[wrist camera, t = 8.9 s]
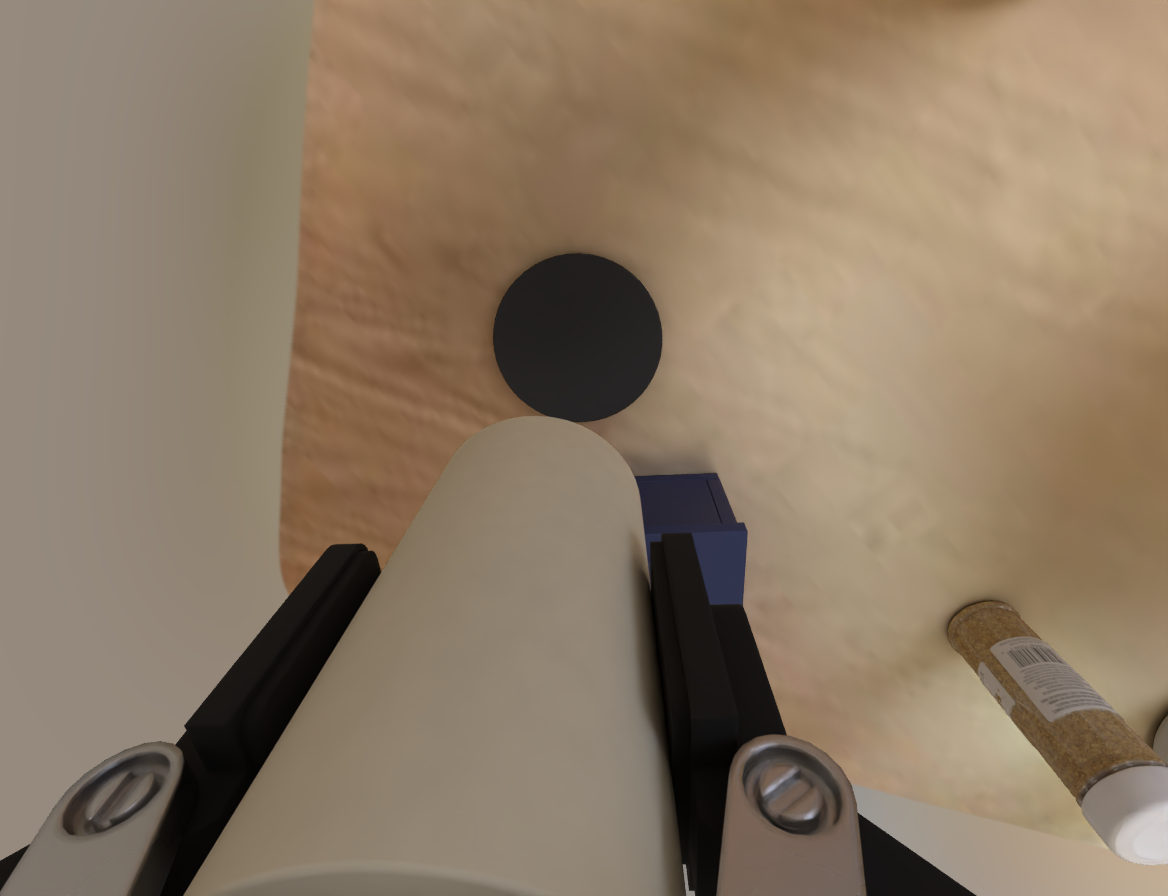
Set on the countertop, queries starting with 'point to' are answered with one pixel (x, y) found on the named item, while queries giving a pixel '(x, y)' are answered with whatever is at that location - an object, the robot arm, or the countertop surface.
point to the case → (683, 500)
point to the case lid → (713, 556)
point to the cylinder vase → (1162, 741)
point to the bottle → (482, 702)
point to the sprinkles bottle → (1070, 730)
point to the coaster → (577, 337)
